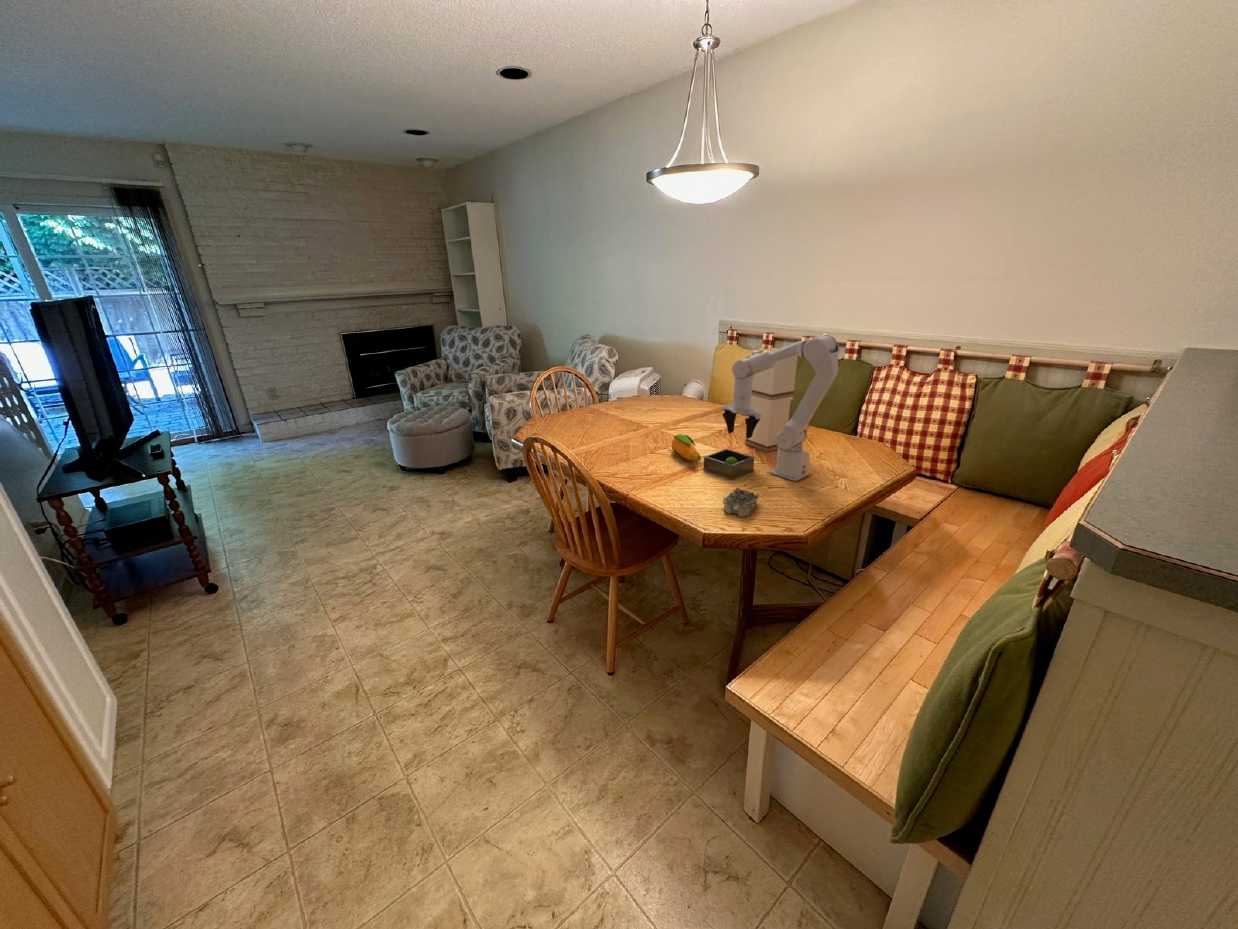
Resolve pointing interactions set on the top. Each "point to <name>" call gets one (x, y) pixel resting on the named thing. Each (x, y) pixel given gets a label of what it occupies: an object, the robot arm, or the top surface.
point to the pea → (731, 460)
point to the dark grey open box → (719, 466)
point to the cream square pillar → (772, 401)
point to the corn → (685, 448)
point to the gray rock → (740, 502)
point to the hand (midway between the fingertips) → (739, 435)
